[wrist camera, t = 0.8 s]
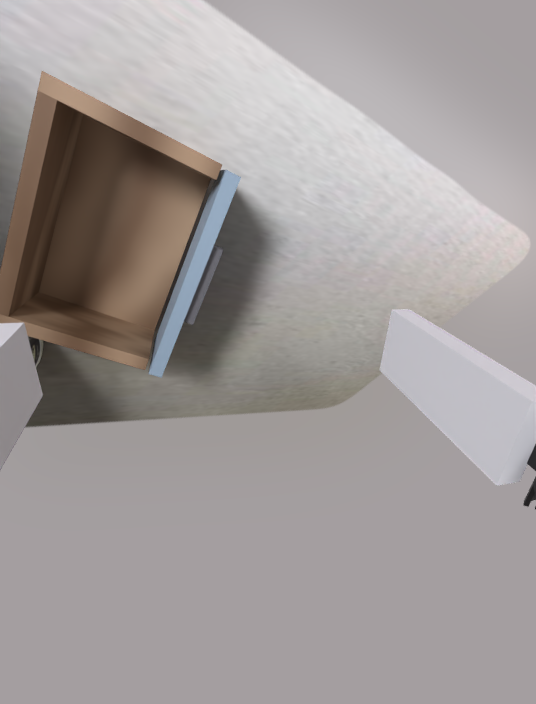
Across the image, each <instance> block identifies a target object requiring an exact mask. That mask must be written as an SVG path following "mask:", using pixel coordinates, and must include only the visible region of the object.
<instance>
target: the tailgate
mask: <svg viewBox="0 0 536 704" xmlns="http://www.w3.org/2000/svg"><path fill="white" fill-rule="evenodd" d="M240 178H241V177H239V176H237V175H235V174H233V173H231V172H230V171H228V170H220V172H219V175H218V177H217V180H215V181H214V184H213V186H212V189H211V192H210V194H209V197H208V200H207V202H206V205H205V208H204V210H203V213H202V216H201V218H200V221H199V224H198V226H197V229H196V232H195V234H194V237H193V240H192V242H191V245H190V248H189V250H188V253H187V256H186V258H185V261H184V264H183V266H182V269H181V272H180V274H179V277H178V280H177V282H176V285H175V288H174V290H173V293H172V296H171V298H170V301H169V304H168V306H167V309H166V312H165V314H164V317H163V320H162V322H161V325H160V328H159V330H158V333H157V336H156V338H155V342H154V347H153V353H152V358H151V364H150V369H149V374H151V375H154V376H158V377H162V375H163V372H164V370H165V367H166V365H167V362H168V360H169V357H170V355H171V352H172V350H173V347H174V345H175V342H176V340H177V337H178V334H179V332H180V329H181V327H182V324H183V322H186V323H189V324H192V325H193V324H194V321H195V319H196V316H197V314H198V311H199V309H200V307H201V304H202V302H203V299H204V297H205V294H206V292H207V289H208V287H209V284H210V282H211V279H212V277H213V275H214V272H215V270H216V267H217V265H218V262H219V260H220V257H221V255H222V252H223V249H222V248H221V247H218V246H216V245H214V244H215V241H216V239H217V236H218V234H219V231H220V229H221V226H222V224H223V221H224V219H225V216H226V214H227V211H228V208H229V206H230V203H231V201H232V198H233V196H234V193H235V191H236V188H237V186H238V183H239V181H240Z"/></svg>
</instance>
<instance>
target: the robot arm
mask: <svg viewBox="0 0 536 704" xmlns="http://www.w3.org/2000/svg"><path fill="white" fill-rule="evenodd" d="M380 371H381V372H382V373H383V374H384V375H385V376H386V377H387V378H388V379H389V380H390V381H391V382H392V383H393V384H394V385H395V386H396V387H397V388H398V389H399V390H400V391H401V392H402V393H403V394H404V395H405V396H406V397H407V398H408V399H409V400H410V401H411V402H412V403H413V404H414V405H416V407H417V408H418V409H419V410H421V412H423V413H424V414H425V415H426V416H427V417H428V418H429V419H430V420H431V421H432V422H433V423H434V424H435V425H436V426H437V427H438V428H439V429H440V430H441V431H442V432H443V433H444V434H445V435H446V436H447V437H448V438H449V439H450V440H451V441H452V442H453V443H454V444H455V445H456V446H457V447H458V448H459V449H460V450H461V451H462V452H463V453H464V454H465V455H466V456H467V457H468V458H469V459H470V460H471V461H472V462H473V463H474V464H475V465H476V466H477V467H478V468H479V469H480V470H482V472H483V473H484V474H485V475H486V476H487V477H488V478H489V479H490V480H491V481H492V482H494V484H496V485H503V484H509V483H515V482H519V481H520V479H521V477H522V475H523V473H524V471H525V469H526V466H527V464H528V465H530V466H531V467H532V468H533V469H534V470H535V471H536V386H535V385H534V384H532V383H531V382H529V381H527V380H526V379H524V378H522V377H521V376H519V375H517V374H515V373H514V372H512V371H511V370H509V369H507V368H506V367H504V366H502V365H500V364H499V363H497V362H496V361H494V360H492V359H491V358H489V357H487V356H486V355H484V354H482V353H481V352H479V351H478V350H475V349H474V348H473V347H471V346H469V345H468V344H466V343H464V342H463V341H461V340H459V339H457V338H456V337H454V336H453V335H451V334H449V333H447V332H446V331H444V330H443V329H441V328H439V327H438V326H436V325H435V324H433V323H431V322H430V321H428V320H426V319H425V318H423V317H421V316H420V315H418V314H416V313H415V312H413V311H411V310H410V309H397V310H392V312H391V317H390V322H389V326H388V331H387V336H386V341H385V346H384V351H383V356H382V361H381V366H380ZM42 396H43V393H42V389H41V386H40V382H39V378H38V374H37V370H36V366H35V362H34V358H33V355H32V351H31V347H30V343H29V339H28V335H27V331H26V328H25V324H24V323H0V470H1V468H2V466H3V464H4V463H5V461H6V459H7V457H8V456H9V454H10V452H11V450H12V448H13V447H14V445H15V443H16V441H17V440H18V438H19V436H20V435H21V433H22V431H23V429H24V428H25V426H26V424H27V422H28V421H29V419H30V417H31V415H32V414H33V412H34V410H35V408H36V407H37V405H38V403H39V401H40V400H41V398H42ZM533 500H536V477H535V479H534V482H533V484H532V486H531V488H530V490H529V492H528V494H527V496H526V498H525V500H524V505H525V506H529V504H530V502H531V501H533ZM535 509H536V507H535Z"/></svg>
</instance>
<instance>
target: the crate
mask: <svg viewBox="0 0 536 704" xmlns="http://www.w3.org/2000/svg"><path fill="white" fill-rule="evenodd" d="M221 167H222V164H220V163H218V162H216V161H214V160H212V159H210V158H208V157H206V156H204V155H203V154H201V153H199V152H197V151H195V150H193V149H191V148H189V147H187V146H185V145H183V144H181V143H180V142H178V141H176V140H174V139H172V138H170V137H168V136H166V135H164V134H162V133H160V132H158V131H156V130H155V129H153V128H151V127H149V126H147V125H145V124H143V123H141V122H139V121H137V120H135V119H133V118H132V117H130V116H128V115H126V114H124V113H122V112H120V111H118V110H116V109H114V108H112V107H110V106H108V105H107V104H105V103H103V102H101V101H99V100H97V99H95V98H93V97H91V96H89V95H87V94H85V93H84V92H82V91H80V90H78V89H76V88H74V87H72V86H70V85H68V84H66V83H64V82H62V81H61V80H59V79H57V78H55V77H53V76H51V75H49V74H47V73H45V72H43V71H42V73H41V78H40V82H39V87H38V92H37V97H36V102H35V106H34V111H33V116H32V121H31V126H30V130H29V135H28V140H27V145H26V150H25V154H24V159H23V164H22V169H21V174H20V178H19V183H18V188H17V193H16V198H15V202H14V207H13V212H12V217H11V222H10V227H9V231H8V236H7V241H6V246H5V251H4V255H3V260H2V265H1V270H0V323H24V324H25V328H26V331H27V335H28V336H30V337H33V338H37V339H40V340H43V341H47V342H50V343H54V344H57V345H61V346H64V347H67V348H71V349H74V350H78V351H81V352H85V353H88V354H92V355H95V356H98V357H102V358H105V359H109V360H112V361H116V362H119V363H122V364H126V365H129V366H133V367H136V368H140V369H143V370H145V368H146V366H147V363H148V360H149V356H150V351H151V346H152V341H153V336H154V331H155V328H156V325H157V323H158V320H159V317H160V315H161V312H162V309H163V306H164V304H165V301H166V298H167V296H168V293H169V290H170V288H171V285H172V282H173V280H174V277H175V274H176V271H177V269H178V266H179V263H180V261H181V258H182V255H183V253H184V250H185V247H186V245H187V242H188V239H189V236H190V234H191V231H192V228H193V226H194V223H195V220H196V218H197V215H198V212H199V210H200V207H201V204H202V202H203V199H204V196H205V193H206V191H207V188H208V185H209V183H210V180H211V179H214V180H217V177H218V175H219V172H220V169H221Z"/></svg>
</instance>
